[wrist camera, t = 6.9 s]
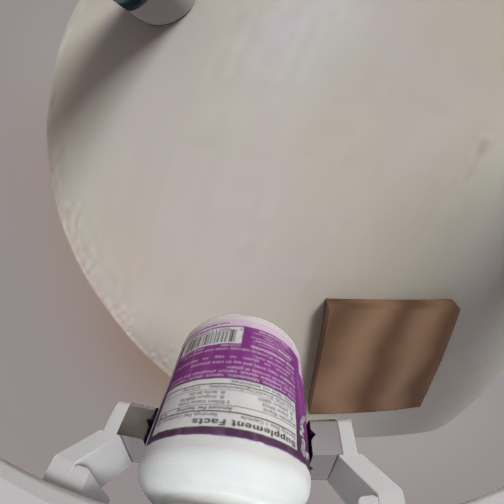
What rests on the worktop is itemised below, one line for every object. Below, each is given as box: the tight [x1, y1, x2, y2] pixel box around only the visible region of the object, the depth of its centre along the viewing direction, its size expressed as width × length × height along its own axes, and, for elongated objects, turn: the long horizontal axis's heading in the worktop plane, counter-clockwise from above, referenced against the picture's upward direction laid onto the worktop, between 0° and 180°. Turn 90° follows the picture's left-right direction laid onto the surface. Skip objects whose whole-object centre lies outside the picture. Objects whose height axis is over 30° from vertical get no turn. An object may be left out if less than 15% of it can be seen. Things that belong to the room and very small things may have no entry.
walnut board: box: [308, 299, 460, 414], centre depth 31 cm, size 14×14×2 cm
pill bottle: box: [138, 314, 311, 504], centre depth 10 cm, size 5×5×10 cm
